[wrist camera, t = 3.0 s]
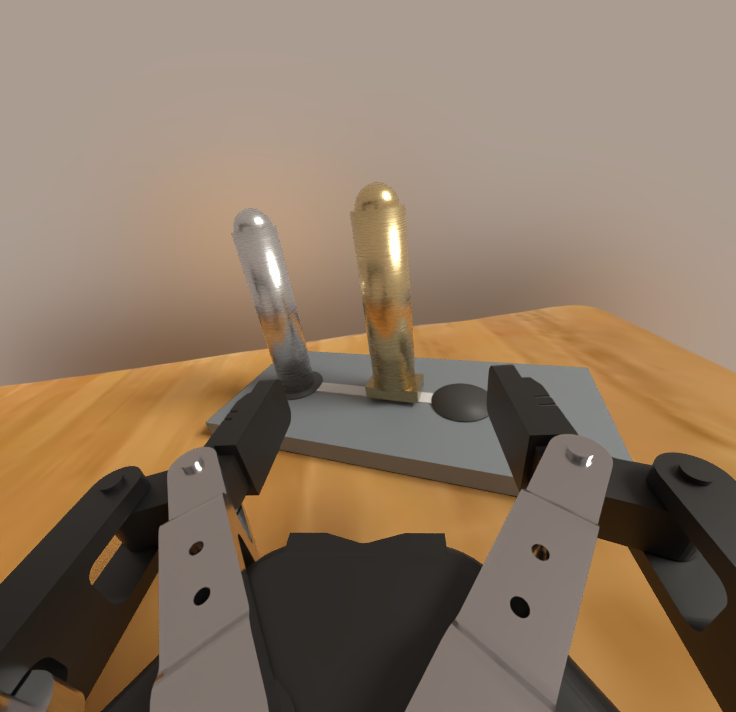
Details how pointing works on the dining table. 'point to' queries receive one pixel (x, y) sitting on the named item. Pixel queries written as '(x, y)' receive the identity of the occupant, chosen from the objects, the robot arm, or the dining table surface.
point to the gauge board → (426, 419)
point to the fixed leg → (273, 298)
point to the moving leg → (386, 293)
